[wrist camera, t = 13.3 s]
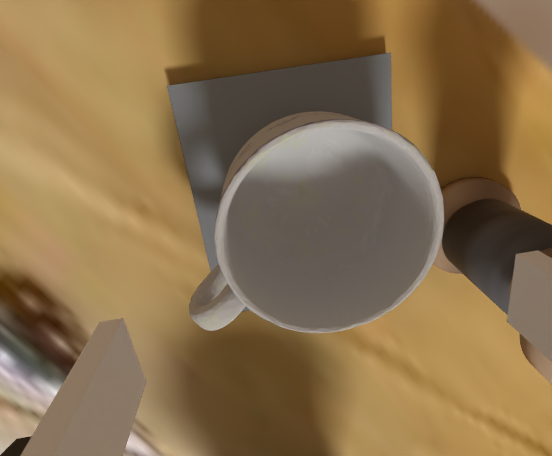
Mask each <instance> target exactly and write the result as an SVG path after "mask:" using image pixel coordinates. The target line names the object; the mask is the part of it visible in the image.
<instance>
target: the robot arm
mask: <svg viewBox="0 0 552 456" xmlns="http://www.w3.org/2000/svg"><path fill="white" fill-rule="evenodd" d="M507 322H508V323H509V324H510V325H511V326H512V327H514V328H515V329H516V330H517V331H518V332H519V333H520V334H521V335H522V336H523V337H524V338H526V339H527V340H528V341H529V342H530V343H531V344H532V345H533V346H534V347H535V348H536V349H538V350H539V351H540V352H541V353H542V354H543V355H544V356H545V357H546V358H547V359H548V360H550V361H551V362H552V258H550V257H549V256H547V255H545V254H544V253H542V252H540V251H538V250H537V251H531V252H525V253H519V254H516V257H515V264H514V272H513V279H512V286H511V294H510V301H509V309H508V316H507ZM145 385H146V379H145V377H144V374H143V371H142V368H141V366H140V363H139V360H138V357H137V355H136V352H135V349H134V346H133V344H132V341H131V338H130V335H129V333H128V330H127V327H126V324H125V322H124V319H123V318H121V319H115V320H109V321H103V322H99V324H98V326H97V327H96V329H95V331H94V332H93V334H92V336H91V337H90V339H89V341H88V342H87V344H86V346H85V348H84V349H83V351H82V353H81V354H80V356H79V358H78V359H77V361H76V363H75V364H74V366H73V368H72V369H71V371H70V373H69V375H68V376H67V378H66V380H65V381H64V383H63V385H62V386H61V388H60V390H59V391H58V393H57V395H56V396H55V398H54V400H53V402H52V403H51V405H50V407H49V408H48V410H47V412H46V413H45V415H44V417H43V418H42V420H41V422H40V423H39V425H38V427H37V428H36V430H35V432H34V434H33V435H32V436H31V437H25V438H19V439H16V440H15V441H14V442H13V443H12V444H11V445H10V446H9V447H8V448H7V449H6V450H5V451H4V452H3V453H2V454H1V455H0V456H123V453H124V450H125V447H126V444H127V441H128V438H129V435H130V431H131V428H132V425H133V422H134V419H135V416H136V413H137V410H138V407H139V403H140V400H141V397H142V394H143V391H144V388H145Z"/></svg>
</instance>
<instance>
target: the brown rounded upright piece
mask: <svg viewBox="0 0 552 456" xmlns="http://www.w3.org/2000/svg"><path fill="white" fill-rule="evenodd" d="M441 192H442V196H443V206H444V228H443V235H442V240H441V244H440V247H439V250H438V253H437V255H436V258H435V260H434V262H433V264H434V265H435V266H437V267H438V268H440V269H442V270H444V271H447V272H450V273H460V274H464V275H465V276H466V277H467V278H468V279H469V280H470V281H471V282H472V283H473V284H475V285H476V286H477V287H478V288H479V289H480V290H481V291H482V292H483V293H484V294H485V295H486V296H488V297H489V298H490V299H491V300H492V301H493V302H494V303H495V304H496V305H497V306H498V307H499V308H501V309H502V310H503V311H504V312H505V313H506V314H507V315H508V309H509V301H510V294H511V286H512V279H513V272H514V264H515V257H516V254H519V253H525V252H531V251H537V250H538V251H540V252H542V253H544V254H545V255H547V256H549V257H550V258H552V225H551V224H548V223H546V222H544V221H542V220H540V219H538V218H536V217H534V216H532V215H530V214H528V213H526V212H524V211H522V210H521V208H520V204H519V202H518V200H517V198H516V196H515V195H514V194H513V193H512V192H511V191H510V190H509V189H508V188H507V187H505V186H503V185H501V184H499V183H497V182H494V181H492V180H489V179H486V178H481V177H470V178H464V179H460V180H457V181H454V182H452V183H450V184H448V185H446V186H444V187H443V188H441ZM520 344H521V348H522V351H523V353H524V355H525V357H526V358H527V360H528V361H529V362H530V363H531V364H532V365H533V366H534V367H535V368H536V369H537V371H538V372H539V373H540V374H541V375H542V376H543V377H544V378H545V379H546V380H548V381H549V382H550V383H551V384H552V362H551V361H550V360H548V359H547V358H546V357H545V356H544V355H543V354H542V353H541V352H540V351H539V350H538V349H536V348H535V347H534V346H533V345H532V344H531V343H530V342H529V341H528V340H527V339H526V338H524V337H523V336H522V335H521V334H520Z"/></svg>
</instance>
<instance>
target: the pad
mask: <svg viewBox="0 0 552 456" xmlns="http://www.w3.org/2000/svg"><path fill="white" fill-rule="evenodd" d="M167 88H168V92H169V96H170V100H171V105H172V109H173V113H174V117H175V121H176V126H177V130H178V134H179V138H180V143H181V147H182V151H183V155H184V160H185V164H186V168H187V172H188V177H189V181H190V185H191V189H192V193H193V198H194V202H195V206H196V210H197V215H198V219H199V223H200V227H201V232H202V236H203V240H204V244H205V249H206V253H207V257H208V261H209V265H210V270H211V271H212V270H213V269H214V268H215V267H216V266H217V265H218V261H217V258H216V253H215V243H214V229H215V220H216V215H217V211H218V207H219V204H220V200H221V195H222V190H223V185H224V182H225V179H226V176H227V173H228V171H229V168H230V166H231V164H232V162H233V160H234V158H235V157H236V155H237V154H238V152H239V151H240V149H241V148H242V147H243V146H244V145H245V144H246V142H247V141H248V140H249V139H250V138H251V137H253V136H254V135H255V134H256V133H257V132H258V131H260V130H261V129H263V128H264V127H266V126H267V125H269V124H270V123H272V122H274V121H276V120H279V119H281V118H284V117H286V116H290V115H293V114H297V113H303V112H316V111H323V112H332V113H338V114H342V115H346V116H350V117H353V118H356V119H359V120H362V121H367V122H371V123H374V124H378V125H381V126H384V127H386V128H389V129H391V130H392V106H391V53H385V54H378V55H372V56H365V57H358V58H351V59H345V60H338V61H331V62H324V63H318V64H311V65H304V66H297V67H291V68H284V69H277V70H270V71H264V72H257V73H250V74H243V75H237V76H230V77H223V78H216V79H209V80H203V81H196V82H189V83H182V84H176V85H169V86H167ZM248 310H250V309H248V308H247V307H246V306H245V308H244V309H243V310H242V311H248ZM242 311H241V312H242Z"/></svg>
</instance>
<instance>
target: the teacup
mask: <svg viewBox="0 0 552 456" xmlns="http://www.w3.org/2000/svg"><path fill="white" fill-rule="evenodd" d="M443 228H444V206H443V196H442V192H441V189H440V185H439V182H438V179H437V176H436V174H435V171H434V170H433V168H432V167H431V165H430V164H429V162H428V161H427V159H426V158H425V157H424V156H423V154H422V153H421V152H420V151H419V150H418V149H417V148H416V147H415V146H414V144H413V143H411V142H410V141H409V140H407V139H406V138H404V137H403V136H402V135H400V134H399V133H397V132H395V131H393V130H391V129H389V128H386V127H384V126H381V125H378V124H374V123H371V122H367V121H362V120H359V119H356V118H353V117H350V116H346V115H342V114H338V113H332V112H323V111H316V112H303V113H297V114H293V115H290V116H286V117H284V118H281V119H279V120H276V121H274V122H272V123H270V124H269V125H267V126H266V127H264V128H263V129H261V130H260V131H258V132H257V133H256V134H255V135H254V136H253V137H251V138H250V139H249V140H248V141H247V142H246V144H245V145H244V146H243V147H242V148H241V149H240V151H239V152H238V154H237V155H236V157H235V158H234V160H233V162H232V164H231V166H230V168H229V171H228V173H227V176H226V179H225V182H224V185H223V190H222V195H221V200H220V204H219V207H218V211H217V215H216V220H215V229H214V243H215V253H216V258H217V261H218V265H217V266H216V267H215V268H214V269H213V270H212V271H211V272H210V273H209V275H208V276H207V277H206V278H205V279H204V280H203V282H202V283H201V284H200V285H199V286H198V288H197V289H196V291H195V293H194V294H193V296H192V298H191V301H190V303H189V313H190V316H191V318H192V319H193V321H194V322H195V323H197V324H198V325H199V326H200V327H202V328H203V329H205V330H209V331H212V330H218V329H220V328H223V327H225V326H226V325H227V324H229V323H230V322H232V321H233V320H234V319H235V318H236V317H237V316H238V315H239V314H240V312H241V311H242V310H243V309H244V308H245V306H246V307H247V308H248V309H250V310H251V311H252V312H254V313H255V314H257V315H258V316H260V317H261V318H263V319H265V320H267V321H270V322H272V323H274V324H276V325H278V326H280V327H283V328H286V329H289V330H293V331H298V332H308V333H327V332H336V331H342V330H347V329H351V328H354V327H357V326H360V325H363V324H366V323H369V322H371V321H373V320H375V319H377V318H379V317H381V316H383V315H384V314H386V313H387V312H389V311H391V310H392V309H394V308H395V307H397V306H398V305H399V304H400V303H401V302H402V301H404V300H405V299H406V298H407V297H408V296H409V295H410V294H411V293H412V292H413V291H414V290H415V289H416V287H417V286H418V285H419V284H420V283H421V281H422V280H423V279H424V277H425V276H426V274H427V273H428V271H429V269H430V267H431V266H432V264H433V262H434V260H435V258H436V255H437V253H438V250H439V247H440V244H441V240H442V235H443Z"/></svg>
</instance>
